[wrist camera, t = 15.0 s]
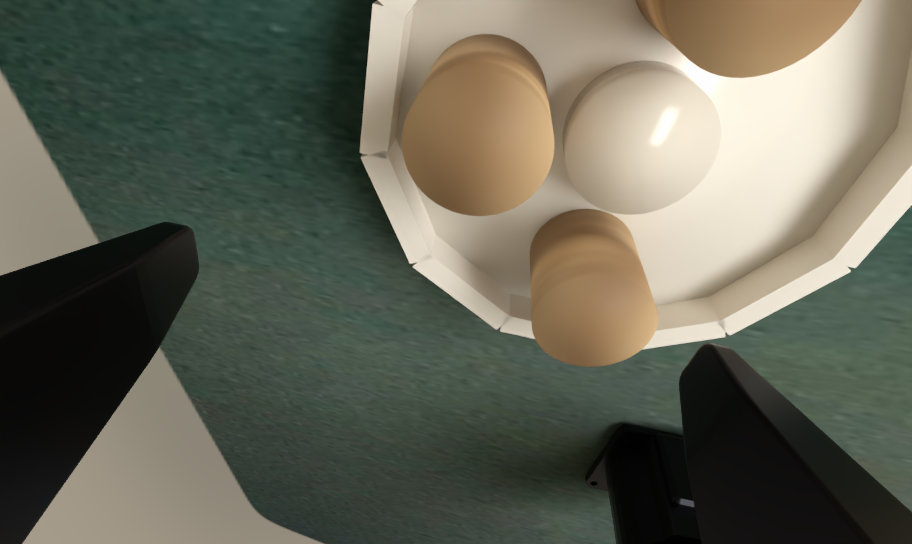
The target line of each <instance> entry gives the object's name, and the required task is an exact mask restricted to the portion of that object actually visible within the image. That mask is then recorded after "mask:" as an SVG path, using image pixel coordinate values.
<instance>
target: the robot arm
mask: <svg viewBox="0 0 912 544" xmlns="http://www.w3.org/2000/svg"><path fill="white" fill-rule="evenodd" d="M198 271H199V262H198V255H197V249H196V242H195V236H194V232H193V230H192V229H191V228H190V227H188V226H185V225H180V224H176V223H171V222H162V223H159V224H156V225H153V226H150V227H147V228H144V229H141V230H138V231H135V232H132V233H129V234H126V235H123V236H120V237H117V238H114V239H110V240H107V241H104V242H101V243H98V244H95V245H92V246H89V247H86V248H83V249H80V250H77V251H74V252H71V253H68V254H65V255H62V256H59V257H56V258H53V259H50V260H47V261H44V262H40V263H38V264H35V265H31V266H28V267H25V268H22V269H19V270H17V271H13V272H10V273H7V274H4V275H1V276H0V544H22V543H23V542H24V540H25V539H26V537H27V536H28V535H29V533H30V532H31V530H32V529H33V527H34V526H35V525H36V523H37V522H38V520H39V519H40V517H41V516H42V515H43V513H44V512H45V510H46V509H47V508H48V506H49V505H50V503H51V502H52V500H53V499H54V497H55V496H56V494H57V493H58V492H59V490H60V489H61V488H62V486H63V485H64V483H65V482H66V480H67V479H68V478H69V476H70V475H71V473H72V472H73V470H74V469H75V468H76V466H77V465H78V463H79V462H80V460H81V459H82V458H83V456H84V455H85V453H86V452H87V450H88V449H89V448H90V446H91V445H92V443H93V442H94V440H95V439H96V438H97V436H98V435H99V433H100V432H101V430H102V429H103V428H104V426H105V425H106V423H107V422H108V421H109V419H110V418H111V416H112V415H113V413H114V412H115V411H116V409H117V408H118V406H119V405H120V403H121V402H122V400H123V399H124V398H125V396H126V395H127V393H128V392H129V391H130V389H131V388H132V386H133V385H134V383H135V382H136V381H137V379H138V378H139V376H140V375H141V373H142V372H143V370H144V369H145V368H146V366H147V365H148V363H149V362H150V360H151V359H152V357H153V356H154V354H155V353H156V351H157V350H158V348H159V346H160V345H161V343H162V341H163V339H164V338H165V336H166V334H167V332H168V330H169V328H170V326H171V325H172V323H173V321H174V319H175V317H176V315H177V313H178V312H179V310H180V308H181V306H182V304H183V302H184V300H185V299H186V297H187V295H188V293H189V291H190V289H191V287H192V286H193V284H194V282H195V280H196V278H197V275H198ZM679 391H680V402H681V414H682V425H683V436H681V435H676V434H671V433H667V432H662V431H657V430H653V429H648V428H643V427H639V426H634V425H628V424H627V425H622V426H620V427H619V428H618V430H617V431H616V433H615V434H614V436H613V437H612V439H611V440H610V442H609V443H608V445H607V446H606V448H605V449H604V450H603V452H602V453H601V455H600V456H599V458H598V459H597V461H596V462H595V464H594V465H593V467H592V468H591V470H590V471H589V472H588V474H587V475H586V477H585V479H586V485H587V486H588V487H591V488H596V489H601V490H606V491H608V492H609V498H610V505H611V512H612V518H613V525H614V531H615V538H616V544H912V512H911V511H910V510H909V509H908V508H907V507H905V506H904V505H903V504H902V503H901V502H900V501H899V500H898V499H897V498H896V497H894V496H893V495H892V494H891V493H890V492H889V491H888V490H887V489H886V488H884V487H883V486H882V485H881V484H880V483H879V482H878V481H877V480H876V479H875V478H873V477H872V476H871V475H870V474H869V473H868V472H867V471H866V470H865V469H864V468H862V467H861V466H860V465H859V464H858V463H857V462H856V461H855V460H854V459H853V458H851V457H850V456H849V455H848V454H847V453H846V452H845V451H844V450H843V449H841V448H840V447H839V446H838V445H837V444H836V443H835V442H834V441H833V440H832V439H830V438H829V437H828V436H827V435H826V434H825V433H824V432H823V431H822V430H821V429H819V428H818V427H817V426H816V425H815V424H814V423H813V422H812V421H811V420H810V419H808V418H807V417H806V416H805V415H804V414H803V413H802V412H801V411H800V410H799V409H797V408H796V407H795V406H794V405H793V404H792V403H791V402H790V401H789V400H787V399H786V398H785V397H784V396H783V395H782V394H781V393H780V392H779V391H778V390H776V389H775V388H774V387H773V386H772V385H771V384H770V383H769V382H768V381H767V380H765V379H764V378H763V377H762V376H761V375H760V374H759V373H758V372H757V371H756V370H754V369H753V368H752V367H751V366H750V365H749V364H748V363H747V362H746V361H745V360H743V359H742V358H741V357H740V356H739V355H738V354H737V353H736V352H735V351H734V350H732V349H731V348H729V347H726V346H721V345H717V344H712V343H706V344H704V345H702V346H701V347H700V348H699V349H698V351H697V352H696V354H695V355H694V356H693V358H692V359H691V360H690V362H689V363H688V365H687V366H686V367H685V369H684V370H683V372H682V374H681V376H680V380H679Z"/></svg>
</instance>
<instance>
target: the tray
mask: <svg viewBox="0 0 912 544" xmlns="http://www.w3.org/2000/svg"><path fill="white" fill-rule="evenodd" d="M479 34H494V35H500V36H504V37H507V38H510V39H512V40H514V41H516V42H518V43H519V44H520V45H522V46H523V47H525V48H526V49H527V50H528V51H529V52H530V53H531V54H532V55H533V56H534V58H535V59H536V60H537V62H538V64H539V65H540V67H541V69H542V72H543V74H544V77H545V81H546V86H547V93H548V99H549V106H550V113H551V120H552V126H553V133H554V156H553V161H552V164H551V168H550V170H549V172H548V175H547V177H546V178H545V180H544V182H543V183H542V185H541V186H540V187H539V189H538V190H537V191H536V192H535V193H534V194H533V195H532V196H531V197H530V198H529V199H527V200H526V201H525V202H524V203H522V204H520V205H519V206H517V207H515V208H513V209H511V210H509V211H506V212H503V213H499V214H495V215H489V216H470V215H464V214H459V213H456V212H452V211H450V210H448V209H445V208H443V207H441V206H440V205H438V204H436V203H435V202H433V201H432V200H431V199H429V198H428V197H427V196H426V195H425V194H424V193H423V192H422V191H421V190H420V189H419V188H418V186H417V185H416V184H415V182H414V181H413V179H412V178H411V176H410V174H409V172H408V170H407V167H406V164H405V161H404V157H403V152H402V132H403V127H404V123H405V120H406V117H407V114H408V112H409V110H410V108H411V107H412V105H413V103H414V101H415V99H416V97H417V95H418V93H419V91H420V90H421V88H422V86H423V84H424V82H425V80H426V78H427V76H428V74H429V73H430V71H431V69H432V67H433V65H434V63H435V62H436V60H437V59H438V58H439V56H440V55H441V54H442V53H443V52H444V51H445V50H446V49H447V48H448V47H450V46H451V45H452V44H454V43H456V42H457V41H459V40H461V39H464V38H466V37H469V36H473V35H479ZM360 153H362V156H361V160H362V162H363V164H364V166H365V168H366V171H367V173H368V175H369V177H370V179H371V181H372V184H373V186H374V188H375V190H376V192H377V194H378V196H379V199H380V201H381V203H382V205H383V207H384V209H385V211H386V214H387V216H388V218H389V220H390V222H391V224H392V226H393V229H394V231H395V233H396V235H397V237H398V239H399V242H400V244H401V246H402V248H403V250H404V252H405V254H406V257H407V259H408V261H409V263H410V264H411V263H413V268H415V269H416V270H417V271H419V272H420V273H421V274H423V275H424V276H425V277H427V278H428V279H429V280H431V281H432V282H433V283H435V284H436V285H437V286H439V287H440V288H441V289H443V290H444V291H445V292H447V293H448V294H449V295H451V296H452V297H453V298H455V299H456V300H457V301H459V302H460V303H461V304H463V305H464V306H465V307H467V308H468V309H469V310H471V311H472V312H473V313H475V314H476V315H477V316H479V317H480V318H481V319H483V320H484V321H485V322H487V323H488V324H489V325H491V326H492V327H493V328H495V329H496V330H497V329H498V328H500V331H501V332H505V333H510V334H515V335H519V336H524V337H528V338H533V339H535V337H534V335H533V331H532V319H531V284H530V247H531V243H532V241H533V238H534V236H535V235H536V233H537V232H538V230H539V229H540V228H541V227H542V226H543V225H544V224H545V223H546V222H548V221H549V220H550V219H552V218H554V217H556V216H557V215H560V214H562V213H564V212H568V211H571V210H577V209H595V210H600V211H604V212H607V213H609V214H612V215H614V216H615V217H617V218H618V219H620V220H621V221H622V222H623V223H624V224H625V225H626V226H627V227H628V229H629V230H630V232H631V234H632V237H633V240H634V243H635V246H636V248H637V251H638V254H639V257H640V260H641V263H642V266H643V269H644V272H645V275H646V278H647V281H648V284H649V287H650V290H651V293H652V296H653V299H654V302H655V305H656V308H657V312H658V324H657V328H656V331H655V333H654V335H653V337H652V338H651V340H650V341H649V343H648V344H647V345H646V346H645V347H644V348H643V349H648V348H655V347H662V346H668V345H675V344H682V343H689V342H695V341H702V340H709V339H716V338H722V337H725V332H727V333H728V334H729V335H732V334H734V333H736V332H738V331H739V330H741V329H743V328H745V327H747V326H749V325H751V324H753V323H755V322H756V321H758V320H760V319H762V318H764V317H766V316H768V315H770V314H772V313H774V312H775V311H777V310H779V309H781V308H783V307H785V306H787V305H789V304H791V303H792V302H794V301H796V300H798V299H800V298H802V297H804V296H806V295H808V294H810V293H811V292H813V291H815V290H817V289H819V288H821V287H823V286H825V285H827V284H828V283H830V282H832V281H834V280H836V279H838V278H840V277H842V276H844V275H846V274H847V273H849V272H851V271H850V270H849V268H848V267H853V268H856V267H857V266H858V265H859V264H860V263H861V261H862V260H863V259H864V258H865V257H866V256H867V255H868V254H869V252H870V251H871V250H872V249H873V248H874V247H875V246H876V244H877V243H878V242H879V241H880V240H881V239H882V238H883V237H884V235H885V234H886V233H887V232H888V231H889V230H890V229H891V227H892V226H893V225H894V224H895V223H896V222H897V221H898V220H899V218H900V217H901V216H902V215H903V214H904V213H905V212H906V210H907V209H908V208H909V207H910V206H911V205H912V0H862V1H861V2H860V4H859V5H858V7H857V8H856V10H855V11H854V12H853V14H852V15H851V16H850V17H849V19H848V20H847V21H846V22H845V23H844V25H843V26H842V27H841V28H840V29H839V30H838V31H837V32H836V33H835V34H834V35H833V36H832V37H831V38H830V39H829V40H827V41H826V42H825V43H824V44H823V45H821V46H820V47H819V48H818V49H816V50H815V51H813V52H812V53H811V54H809V55H808V56H806V57H805V58H803V59H801V60H799V61H798V62H796V63H794V64H792V65H790V66H788V67H785V68H783V69H781V70H778V71H775V72H772V73H769V74H765V75H761V76H756V77H748V78H729V77H724V76H718V75H715V74H712V73H709V72H707V71H705V70H703V69H701V68H699V67H698V66H696V65H695V64H694V63H692V62H691V61H690V60H689V59H688V58H686V57H685V56H684V55H683V54H682V53H681V52H680V51H679V50H678V49H677V48H676V47H675V46H673V45H672V44H671V43H670V42H669V41H668V40H667V39H666V38H665V37H664V36H663V35H662V34H660V33H659V32H658V31H657V30H656V29H655V28H654V27H653V26H652V25H651V24H650V23H649V22H648V21H647V20H646V19H645V18H644V16H643V15H642V13H641V12H640V10H639V8H638V6H637V4H636V1H635V0H377V1H375V2H374V3H373V4H372V16H371V27H370V39H369V50H368V61H367V73H366V84H365V96H364V107H363V119H362V130H361V142H360ZM847 266H848V267H847Z"/></svg>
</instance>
